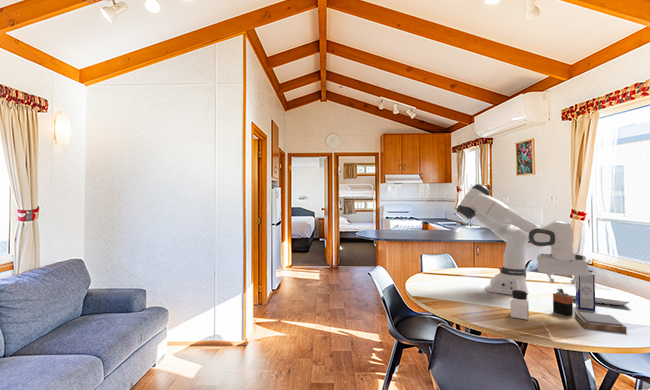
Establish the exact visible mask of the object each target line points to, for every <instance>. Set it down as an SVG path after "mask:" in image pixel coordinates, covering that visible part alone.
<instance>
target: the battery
mask: <svg viewBox="0 0 650 390" xmlns="http://www.w3.org/2000/svg"><path fill="white" fill-rule="evenodd" d="M573 301H574V300H573V299H572V296H570V295H569V294H567V293H564V292H563V293H561V291H556V293H553V294H552V309H553V310H552V312H553V313H556V314H559V315H562V316H565V317H570V316H573V315H574V313H573V312H574V310H573V309H574V306H573Z"/></svg>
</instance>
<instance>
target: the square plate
mask: <svg viewBox="0 0 650 390" xmlns="http://www.w3.org/2000/svg"><path fill="white" fill-rule="evenodd" d="M557 285H558V286H559V287H560V289H561V290H562V291H563V293H567V294H569V295H570V296H572V300H573V301H576V284H571V283H557ZM595 302H596V303H595V304H602V303H604V305H610V304H612V305H614V306H616V305H618V306H624V305H628V304H629V303H630V300H628V299H627V298H625V296H624V295H622V294H621V293H620V292H619V291H617V290H616V289H614V288H610V287H602V286H595ZM612 305H611V306H612Z"/></svg>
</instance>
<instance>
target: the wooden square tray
mask: <svg viewBox="0 0 650 390" xmlns="http://www.w3.org/2000/svg"><path fill="white" fill-rule="evenodd" d="M574 319H576V320H577V321H578V323H580V325H582V327H583V328H584V329H589V330H599V331H605V332H615V333H622V334H627V326H625V325H624V324H623V323H622V322H620V320H618V319H617V318H615V317H614V316H613V315H610V314H602V313H601V314H600V313H593V312H581V311H578V312H574Z"/></svg>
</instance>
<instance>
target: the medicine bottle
mask: <svg viewBox="0 0 650 390" xmlns="http://www.w3.org/2000/svg"><path fill="white" fill-rule="evenodd" d="M527 295H528V294H527V293H526V292H525V291H522V290H513V291H512V295H511V299H510V318H516V319H520V320H521V319H522V320H527V321H528V320H529V300H528V296H527Z"/></svg>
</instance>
